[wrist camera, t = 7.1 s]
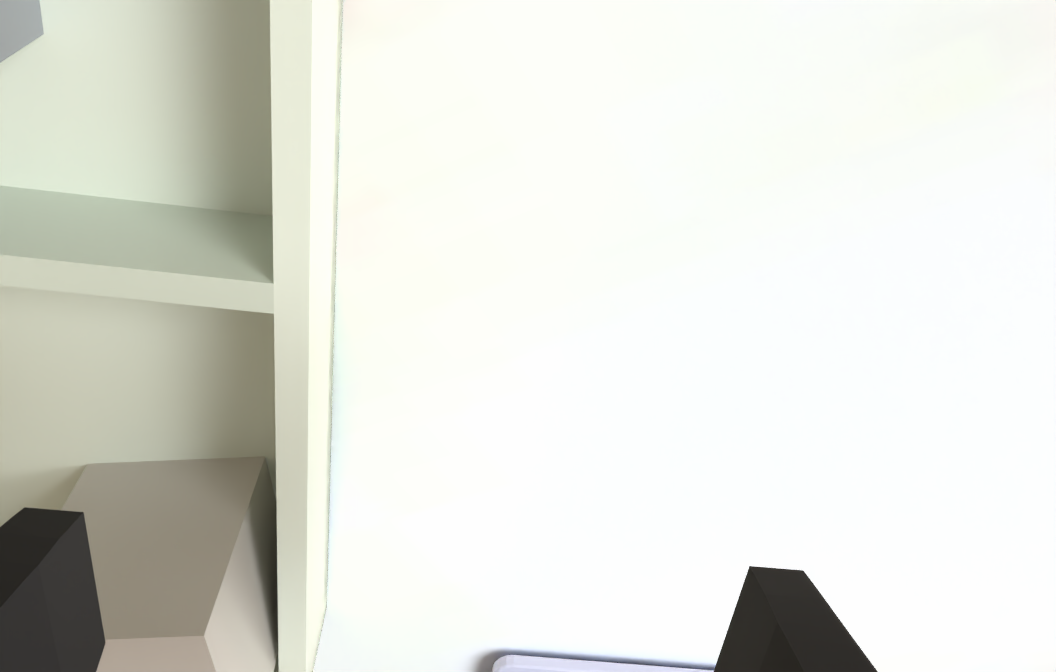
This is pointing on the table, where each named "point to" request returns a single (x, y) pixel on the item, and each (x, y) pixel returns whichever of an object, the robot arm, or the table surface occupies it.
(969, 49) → the table surface
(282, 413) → the tray
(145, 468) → the white small block
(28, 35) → the grey rectangular block
